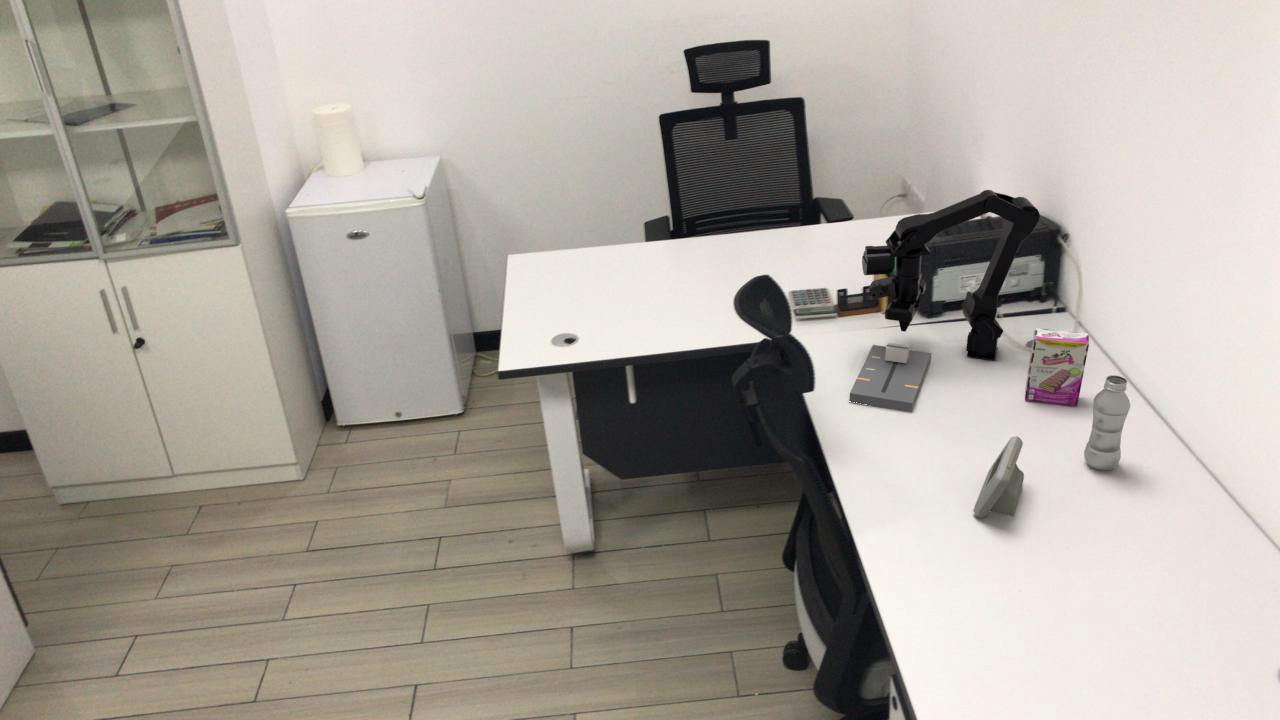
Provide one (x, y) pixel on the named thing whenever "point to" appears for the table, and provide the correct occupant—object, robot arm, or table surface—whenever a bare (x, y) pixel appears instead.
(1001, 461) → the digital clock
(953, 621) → the table surface
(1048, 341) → the candy bar box
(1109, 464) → the plastic bottle
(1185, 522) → the table surface
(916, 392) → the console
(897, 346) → the fader knob
